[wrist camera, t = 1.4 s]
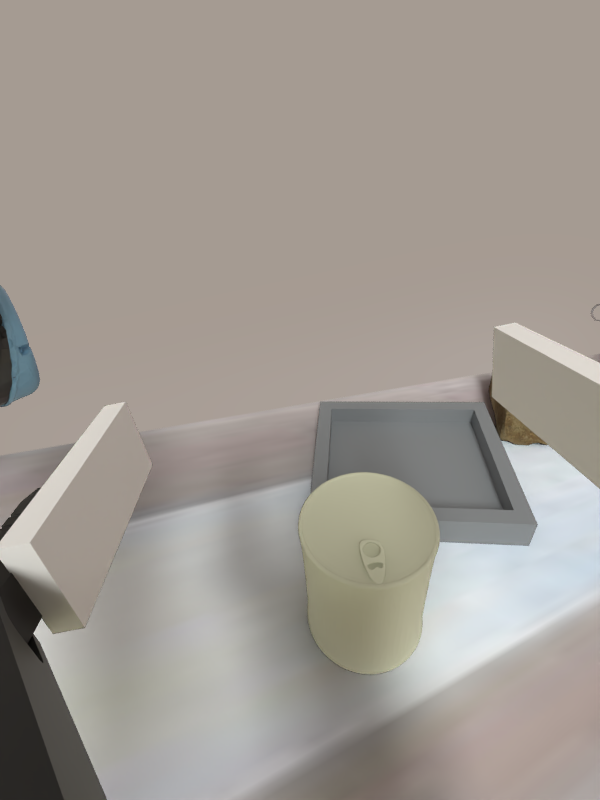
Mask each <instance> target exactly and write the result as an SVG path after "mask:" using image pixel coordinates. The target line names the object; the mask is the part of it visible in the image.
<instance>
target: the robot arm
mask: <svg viewBox="0 0 600 800" xmlns="http://www.w3.org/2000/svg"><path fill="white" fill-rule="evenodd" d="M39 382H40V378H39V372H38V369H37V365H36V362H35V358H34V356H33V353H32V351H31V348H30V347H29V343H28V340H27V337H26V334H25V331H24V329H23V326H22V324H21V322H20V319H19V317H18V315H17V313H16V311H15V308H14V306H13V304H12V302H11V300H10V298H9V296H8V295H7V293H6V291H5V290H4V288H2V286H1V285H0V407H4V406H8V405H9V404H11V402H13V401H15V400H18V399H20V398H22V397H25V396H27V395H30V394H32V393H33V392H34V391H35V390H36V389H37V388H38V386H39ZM492 397H493V398H494V399H495V400H496V401H497V402H498V403H500V404H501V405H502V406H503V407H504V408H506V409H507V410H508V411H509V412H510V413H511V414H513V415H514V416H515V417H516V418H517V419H518V420H520V421H521V422H522V423H523V424H524V425H525V426H527V427H528V428H529V429H530V430H531V431H533V432H534V433H535V434H536V435H537V436H538V437H540V438H541V439H542V440H543V441H544V442H545V443H547V444H548V445H549V446H550V447H551V448H552V449H554V450H555V451H556V452H557V453H558V454H560V455H561V456H562V457H563V458H564V459H565V460H567V461H568V462H569V463H570V464H571V465H572V466H574V467H575V468H576V469H577V470H578V471H579V472H581V473H582V474H583V475H584V476H585V477H587V478H588V479H589V480H590V481H591V482H592V483H594V484H595V485H596V486H597V487H598V488H599V489H600V363H599V362H596V361H594V360H592V359H590V358H588V357H586V356H584V355H582V354H580V353H578V352H575V351H573V350H571V349H569V348H567V347H565V346H563V345H561V344H558V343H557V342H555V341H553V340H551V339H548V338H546V337H544V336H542V335H540V334H538V333H536V332H534V331H532V330H530V329H527V328H525V327H523V326H521V325H519V324H517V323H511V324H506V325H502V326H496V327H494V337H493V370H492ZM151 467H152V463H151V460H150V458H149V456H148V453H147V451H146V448H145V446H144V444H143V441H142V439H141V436H140V434H139V432H138V430H137V427H136V425H135V422H134V420H133V417H132V415H131V413H130V410H129V408H128V405H127V403H126V402H121V403H117V404H112V405H106V406H104V407H103V409H102V410H101V411H100V412H99V414H98V415H97V416H96V418H95V419H94V420H93V421H92V423H91V424H90V425H89V427H88V428H87V429H86V431H85V432H84V433H83V434H82V436H81V437H80V438H79V440H78V441H77V442H76V443H75V445H74V446H73V447H72V449H71V450H70V451H69V452H68V454H67V455H66V456H65V458H64V459H63V460H62V462H61V463H60V464H59V465H58V467H57V468H56V469H55V471H54V472H53V473H52V475H51V476H50V477H49V478H48V480H47V481H46V482H45V484H44V485H43V486H42V488H38V489H37V490H35V491H34V492H33V493H32V494H30V495H29V496H28V497H27V498H25V499H24V500H23V501H22V502H21V503H20V504H19V505H18V507H17V508H16V509H15V510H14V512H13V513H12V514H11V517H10V518H8V519H7V520H6V522H5V523H4V524H3V525H2V529H0V800H107V799H106V796H105V794H104V792H103V789H102V787H101V785H100V782H99V780H98V778H97V775H96V773H95V770H94V768H93V766H92V763H91V761H90V759H89V756H88V754H87V752H86V749H85V747H84V745H83V742H82V740H81V738H80V735H79V733H78V731H77V728H76V726H75V724H74V721H73V719H72V717H71V714H70V712H69V710H68V707H67V705H66V703H65V700H64V698H63V696H62V693H61V691H60V689H59V686H58V684H57V682H56V679H55V677H54V675H53V672H52V670H51V668H50V665H49V663H48V661H47V658H46V656H45V654H44V651H43V649H42V647H41V644H40V642H39V641H38V640H37V638H36V637H35V636H34V634H33V633H34V631H35V629H36V627H37V625H38V623H39V622H40V620H41V618H42V619H43V621H44V622H45V623H46V625H47V626H48V628H49V629H50V630H51V632H52V633H53V634H56V633H61V632H66V631H71V630H76V629H81V628H85V626H86V624H87V621H88V619H89V617H90V614H91V612H92V609H93V607H94V605H95V602H96V600H97V597H98V595H99V593H100V590H101V588H102V585H103V583H104V581H105V578H106V576H107V573H108V571H109V569H110V566H111V564H112V561H113V559H114V556H115V554H116V552H117V549H118V547H119V544H120V542H121V540H122V537H123V535H124V532H125V530H126V528H127V525H128V523H129V520H130V518H131V516H132V513H133V511H134V508H135V506H136V504H137V501H138V499H139V496H140V494H141V491H142V489H143V487H144V484H145V482H146V479H147V477H148V475H149V472H150V470H151Z"/></svg>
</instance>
